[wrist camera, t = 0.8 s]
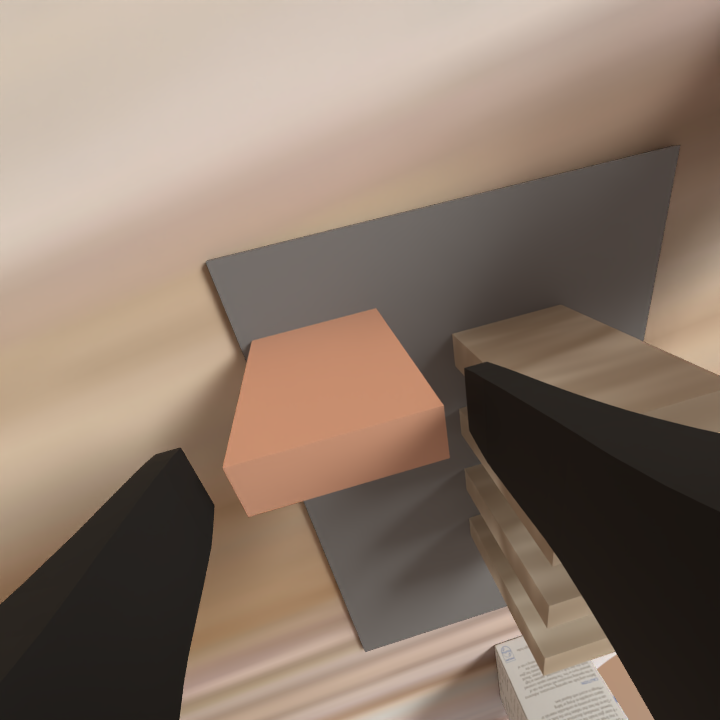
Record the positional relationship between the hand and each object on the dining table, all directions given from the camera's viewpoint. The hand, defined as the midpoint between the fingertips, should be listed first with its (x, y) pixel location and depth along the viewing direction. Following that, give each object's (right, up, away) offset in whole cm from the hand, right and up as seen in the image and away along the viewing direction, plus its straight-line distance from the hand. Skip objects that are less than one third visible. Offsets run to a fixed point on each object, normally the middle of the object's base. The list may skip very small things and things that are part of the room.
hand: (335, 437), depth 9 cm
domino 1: (-1, +3, +5) cm, 6 cm away
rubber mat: (+7, -4, +11) cm, 13 cm away
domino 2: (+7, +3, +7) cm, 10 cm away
